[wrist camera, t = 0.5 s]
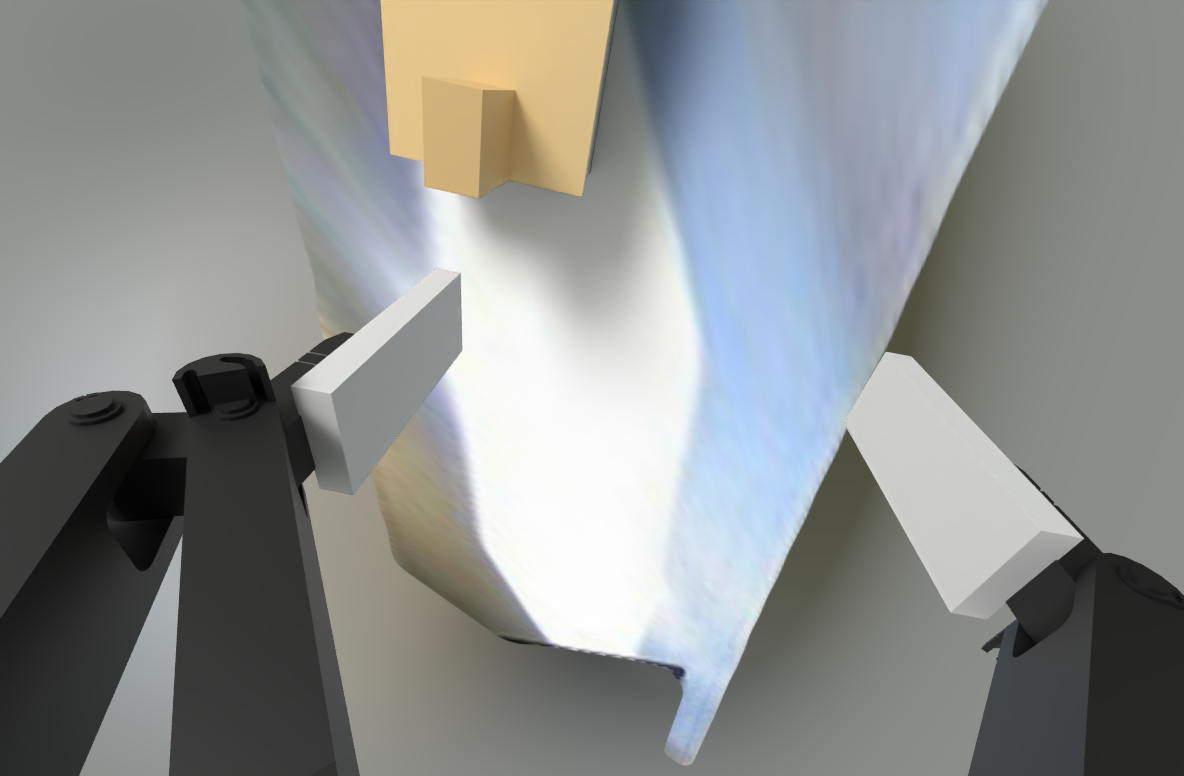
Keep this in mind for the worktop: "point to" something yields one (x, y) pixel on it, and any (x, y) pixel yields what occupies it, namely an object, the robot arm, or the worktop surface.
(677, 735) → the worktop surface
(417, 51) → the lid
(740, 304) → the worktop surface
